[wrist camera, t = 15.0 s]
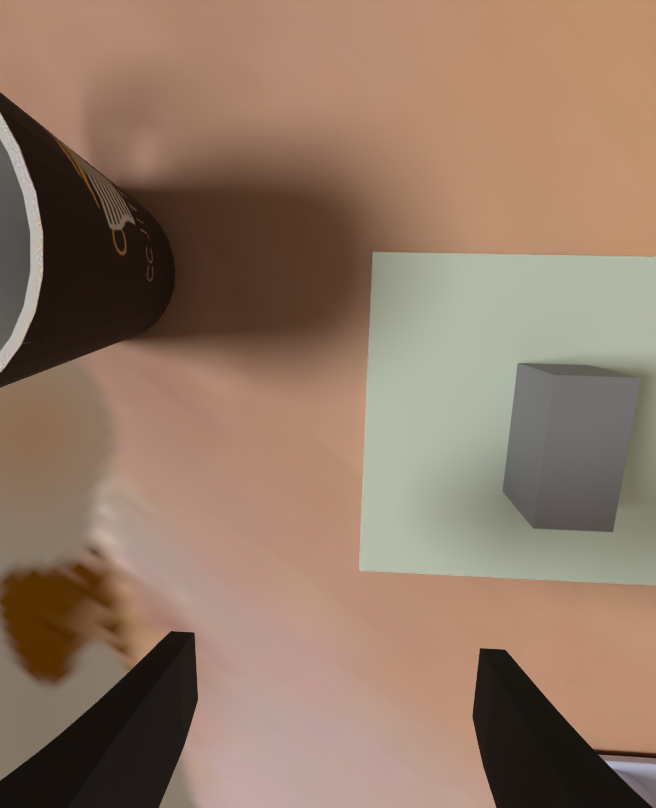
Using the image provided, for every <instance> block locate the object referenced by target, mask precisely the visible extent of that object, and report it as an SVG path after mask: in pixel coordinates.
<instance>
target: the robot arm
mask: <svg viewBox="0 0 656 808" xmlns="http://www.w3.org/2000/svg"><path fill="white" fill-rule="evenodd" d="M197 701H198V691H197V673H196V654H195V635H194V633H192V632H174V631H171V632H170V633H169V634H168V635H166V636H165V637H164V638H163V639H162V640H161V641H160V642H159V643H158V644H157V645H156V646H155V647H154V648H153V649H152V650H151V651H150V652H149V653H148V654H147V655H146V656H145V657H144V658H143V659H142V660H141V661H140V662H139V663H138V664H137V665H136V666H135V667H134V668H133V669H132V670H131V671H130V672H128V673H127V674H126V675H125V676H124V677H123V678H122V679H121V680H120V681H119V682H118V683H117V684H116V685H115V686H114V687H113V688H112V689H110V690H109V691H108V692H107V693H106V694H105V695H104V696H103V697H102V698H101V699H100V700H99V701H98V702H97V703H95V704H94V705H93V706H92V707H91V708H90V709H89V710H87V711H86V712H85V713H84V714H83V715H82V716H81V717H79V718H78V719H77V720H76V721H75V722H74V723H73V724H71V725H70V726H69V727H68V728H67V729H66V730H64V731H63V732H62V733H61V734H60V735H59V736H58V737H56V738H55V739H54V740H52V741H51V742H50V743H49V744H48V745H46V746H45V747H44V748H43V749H41V750H40V751H39V752H38V753H36V754H35V755H34V756H32V757H31V758H30V759H29V760H28V761H26V762H25V763H23V764H22V765H21V766H19V767H18V768H17V769H16V770H14V771H13V772H11V773H10V774H9V775H7V776H6V777H5V778H3V779H2V780H1V781H0V808H159V805H160V803H161V801H162V798H163V796H164V794H165V791H166V789H167V786H168V784H169V782H170V779H171V777H172V774H173V771H174V769H175V767H176V764H177V762H178V760H179V757H180V755H181V752H182V750H183V747H184V744H185V741H186V738H187V735H188V731H189V728H190V725H191V722H192V718H193V715H194V711H195V708H196V704H197ZM472 717H473V721H474V726H475V731H476V736H477V740H478V745H479V749H480V754H481V758H482V762H483V767H484V770H485V773H486V776H487V779H488V783H489V786H490V789H491V792H492V795H493V798H494V801H495V804H496V807H497V808H656V758H644V757H628V756H613V755H598V754H597V753H596V752H595V751H594V750H593V749H592V748H591V747H590V746H589V744H588V743H587V742H586V741H585V740H584V739H583V738H582V737H581V736H580V735H579V734H578V733H577V732H576V730H575V729H574V728H573V727H572V726H571V725H570V724H569V723H568V722H567V721H566V719H565V718H564V717H563V716H562V715H561V714H560V713H559V712H558V711H557V709H556V708H555V707H554V706H553V705H552V704H551V703H550V702H549V700H548V699H547V698H546V697H545V696H544V695H543V693H542V692H541V691H540V690H539V689H538V688H537V686H536V685H535V684H534V683H533V682H532V681H531V679H530V678H529V677H528V676H527V675H526V673H525V672H524V671H523V670H522V669H521V668H520V666H519V665H518V664H517V663H516V662H515V661H514V659H513V658H512V657H511V656H510V655H509V654H508V652H507V651H506V650H500V649H482V648H480V654H479V663H478V672H477V681H476V690H475V699H474V707H473V716H472Z"/></svg>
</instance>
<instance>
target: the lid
mask: <svg viewBox="0 0 656 808" xmlns="http://www.w3.org/2000/svg"><path fill="white" fill-rule="evenodd" d="M359 571H378V572H398V573H417V574H437V575H456V576H476V577H495V578H515V579H534V580H554V581H574V582H593V583H613V584H632V585H652V586H656V257H639V256H582V255H525V254H468V253H412V252H373V253H372V273H371V297H370V320H369V343H368V367H367V390H366V413H365V437H364V460H363V483H362V507H361V530H360V553H359Z"/></svg>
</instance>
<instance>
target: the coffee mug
mask: <svg viewBox="0 0 656 808" xmlns="http://www.w3.org/2000/svg"><path fill="white" fill-rule="evenodd" d="M174 279H175V267H174V258H173V254H172V250H171V247H170V244H169V241H168V239H167V237H166V235H165V233H164V231H163V229H162V228H161V226H160V225H159V224H158V222H157V221H156V220H155V218H154V217H153V216H152V215H151V214H150V213H149V212H148V211H147V210H146V209H145V208H143V207H142V206H141V205H140V204H139V203H137V202H136V201H135V200H134V199H133V198H131V197H130V196H129V195H128V194H126V193H125V192H124V191H123V190H121V189H120V188H119V187H118V186H116V185H115V184H114V183H113V182H111V181H110V180H109V179H108V178H106V177H105V176H104V175H103V174H101V173H100V172H99V171H98V170H96V169H95V168H94V167H93V166H91V165H90V164H89V163H88V162H86V161H85V160H84V159H83V158H81V157H80V156H79V155H78V154H76V153H75V152H74V151H73V150H71V149H70V148H69V147H68V146H66V145H65V144H64V143H63V142H61V141H60V140H59V139H58V138H56V137H55V136H54V135H53V134H51V133H50V132H49V131H48V130H46V129H45V128H44V127H43V126H41V125H40V124H39V123H38V122H36V121H35V120H34V119H33V118H31V117H30V116H29V115H28V114H27V113H25V112H24V111H23V110H22V109H20V108H19V107H18V106H17V105H15V104H14V103H13V102H12V101H10V100H9V99H8V98H7V97H5V96H4V95H3V94H2V93H0V387H3V386H5V385H8V384H11V383H13V382H16V381H18V380H21V379H24V378H26V377H29V376H32V375H34V374H37V373H39V372H42V371H44V370H47V369H50V368H52V367H55V366H58V365H60V364H63V363H65V362H68V361H71V360H73V359H76V358H78V357H81V356H84V355H86V354H89V353H92V352H94V351H97V350H99V349H102V348H105V347H107V346H110V345H112V344H115V343H118V342H120V341H123V340H125V339H128V338H131V337H133V336H136V335H138V334H139V333H141V332H143V331H145V330H147V329H148V328H149V327H150V326H152V325H153V324H154V323H155V322H156V321H157V320H158V319H159V318H160V316H161V315H162V314H163V313H164V311H165V309H166V307H167V305H168V303H169V301H170V299H171V295H172V291H173V288H174Z"/></svg>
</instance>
